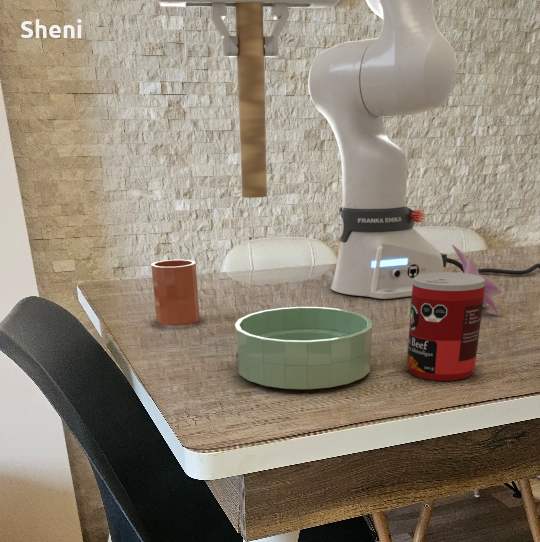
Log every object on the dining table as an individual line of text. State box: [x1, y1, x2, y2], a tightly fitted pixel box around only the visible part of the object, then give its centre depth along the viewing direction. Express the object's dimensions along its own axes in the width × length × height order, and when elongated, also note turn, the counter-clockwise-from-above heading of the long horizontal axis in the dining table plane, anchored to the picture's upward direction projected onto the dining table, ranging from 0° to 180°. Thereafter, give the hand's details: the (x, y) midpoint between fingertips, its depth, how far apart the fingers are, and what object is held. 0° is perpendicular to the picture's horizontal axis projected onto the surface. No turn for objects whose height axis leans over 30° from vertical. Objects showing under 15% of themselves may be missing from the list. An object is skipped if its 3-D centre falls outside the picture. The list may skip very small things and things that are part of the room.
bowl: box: [234, 306, 373, 391], centre depth 80 cm, size 16×16×6 cm
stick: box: [234, 2, 268, 199], centre depth 74 cm, size 3×3×20 cm
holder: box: [150, 259, 201, 326], centre depth 102 cm, size 7×7×9 cm
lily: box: [451, 244, 503, 317], centre depth 104 cm, size 12×12×10 cm
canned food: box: [406, 271, 485, 382], centre depth 78 cm, size 8×8×11 cm
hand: (250, 56), depth 73 cm, fingers closed on stick, 3 cm apart
